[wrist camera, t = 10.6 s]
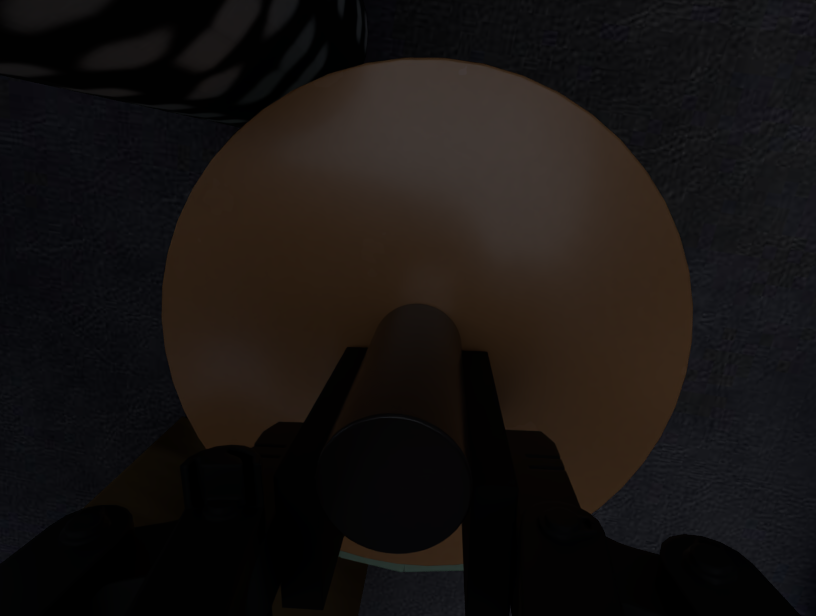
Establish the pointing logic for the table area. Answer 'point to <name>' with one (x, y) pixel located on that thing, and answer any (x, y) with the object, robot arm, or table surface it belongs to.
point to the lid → (428, 290)
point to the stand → (163, 502)
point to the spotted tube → (182, 49)
